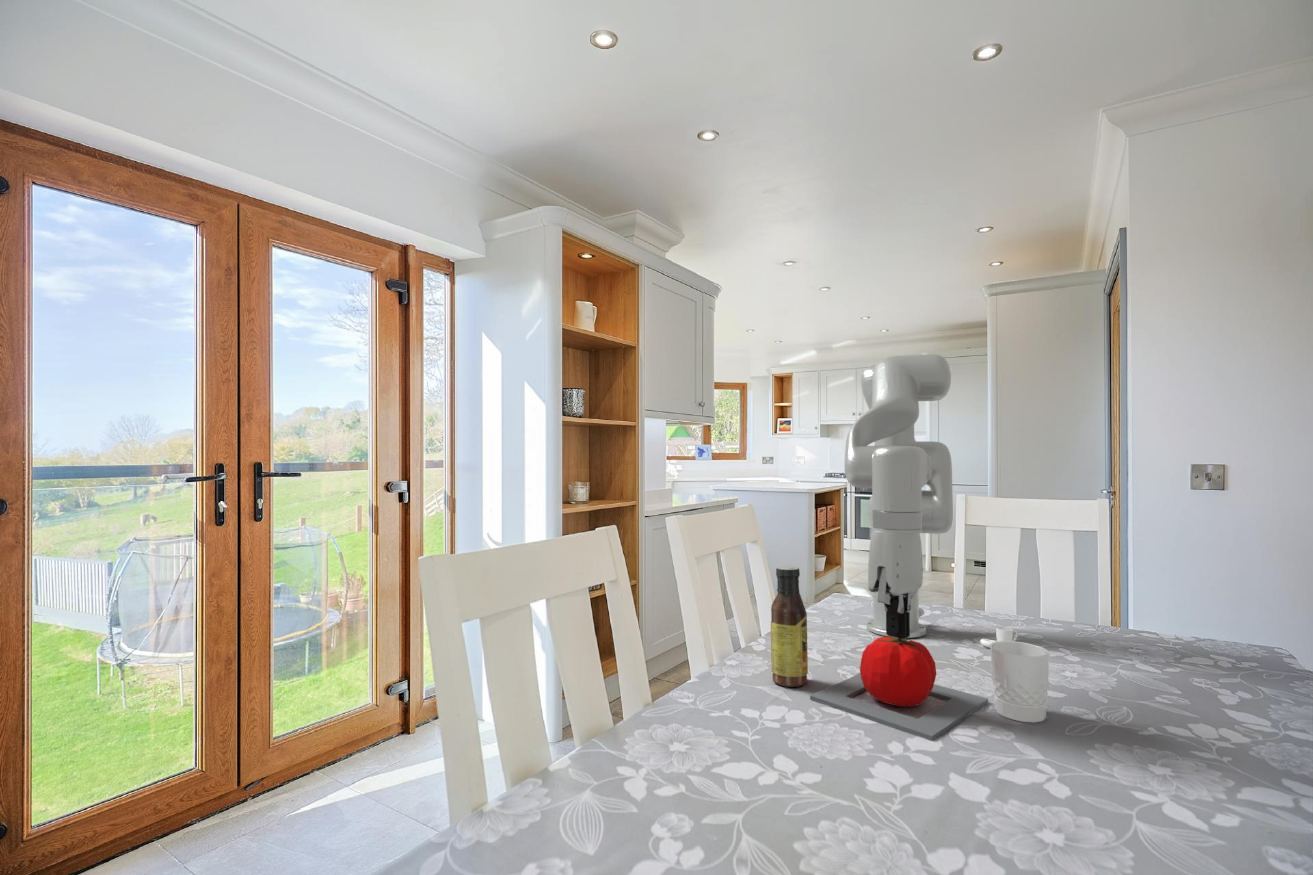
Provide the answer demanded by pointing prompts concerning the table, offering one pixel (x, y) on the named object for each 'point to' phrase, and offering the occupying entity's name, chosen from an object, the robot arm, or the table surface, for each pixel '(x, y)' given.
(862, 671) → the tomato
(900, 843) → the table surface
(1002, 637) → the teacup and saucer
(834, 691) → the gray picture frame
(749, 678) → the table surface
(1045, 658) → the white cup
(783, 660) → the sauce bottle
